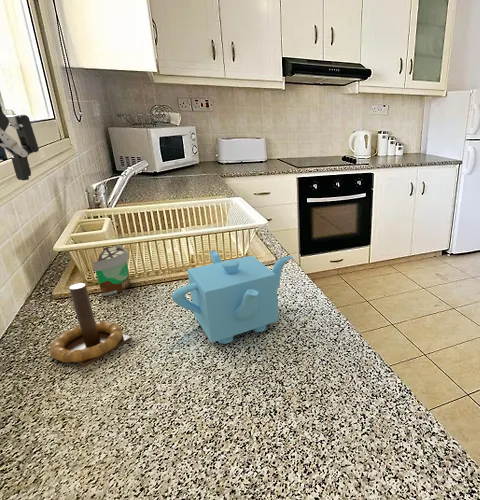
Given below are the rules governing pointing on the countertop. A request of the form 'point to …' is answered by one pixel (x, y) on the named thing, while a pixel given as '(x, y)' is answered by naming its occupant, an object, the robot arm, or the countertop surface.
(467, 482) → the countertop surface
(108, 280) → the food container
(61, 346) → the ring
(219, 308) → the teakettle
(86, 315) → the peg stand
